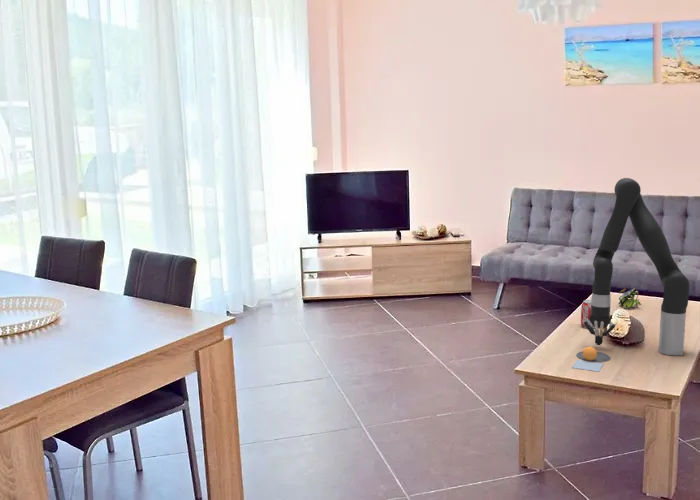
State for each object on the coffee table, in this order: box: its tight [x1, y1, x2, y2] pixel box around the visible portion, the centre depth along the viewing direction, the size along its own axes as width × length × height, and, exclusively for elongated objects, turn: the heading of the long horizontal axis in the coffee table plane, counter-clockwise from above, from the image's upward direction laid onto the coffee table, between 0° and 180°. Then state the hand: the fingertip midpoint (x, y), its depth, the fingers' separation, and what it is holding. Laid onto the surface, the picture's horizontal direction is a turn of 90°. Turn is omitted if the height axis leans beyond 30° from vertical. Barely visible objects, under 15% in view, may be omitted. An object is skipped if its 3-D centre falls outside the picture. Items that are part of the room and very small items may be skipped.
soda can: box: [580, 299, 595, 329], centre depth 333 cm, size 7×7×12 cm
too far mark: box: [571, 359, 604, 373], centre depth 284 cm, size 10×10×1 cm
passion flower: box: [617, 287, 642, 309], centre depth 366 cm, size 11×11×12 cm
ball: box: [582, 346, 598, 361], centre depth 290 cm, size 6×6×6 cm
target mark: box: [576, 350, 611, 363], centre depth 294 cm, size 13×13×1 cm
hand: (598, 344), depth 305 cm, fingers closed
